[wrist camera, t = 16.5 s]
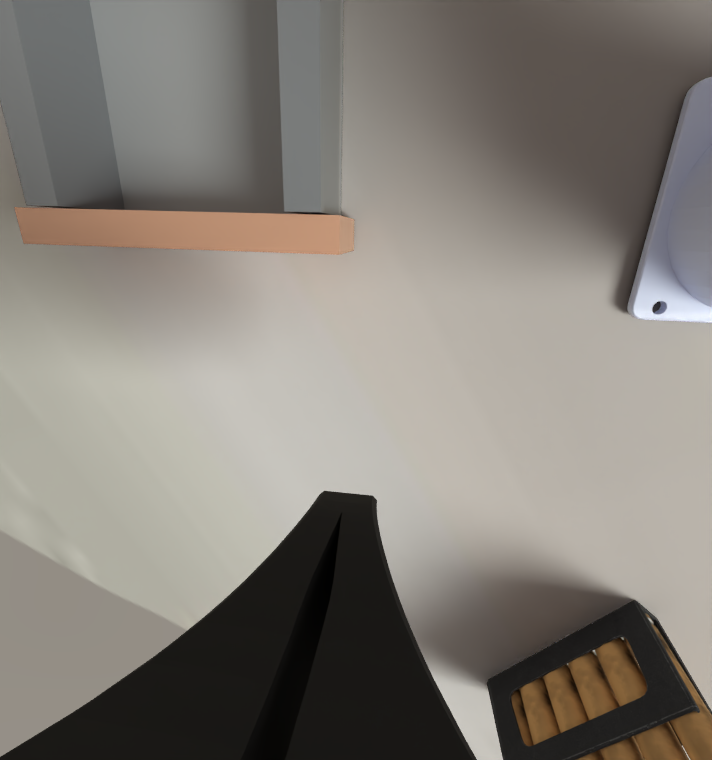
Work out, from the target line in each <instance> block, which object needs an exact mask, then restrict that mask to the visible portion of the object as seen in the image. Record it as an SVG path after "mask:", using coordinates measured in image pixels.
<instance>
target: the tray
mask: <svg viewBox="0 0 712 760" xmlns="http://www.w3.org/2000/svg"><path fill="white" fill-rule="evenodd" d="M343 13H344V0H0V102H1V106H2V110H3V114H4V118H5V122H6V126H7V130H8V134H9V138H10V142H11V146H12V150H13V154H14V158H15V162H16V166H17V170H18V174H19V178H20V182H21V185H22V189H23V193H24V197H25V201H26V205H28V206H41V207H53V208H66V209H104V210H146V211H187V212H229V213H271V214H312V215H341V174H342V94H343Z"/></svg>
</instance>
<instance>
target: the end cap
mask: <svg viewBox="0 0 712 760" xmlns="http://www.w3.org/2000/svg"><path fill="white" fill-rule="evenodd" d="M14 208H15V212H16V216H17V220H18V223H19V227H20V231H21V235H22V239H23V242H24V244H52V245H80V246H109V247H137V248H166V249H195V250H223V251H252V252H280V253H309V254H337V255H340V254H343V253H347V252H350V251H354V219H351V218H348V217H344V216H341V215H312V214H271V213H229V212H187V211H146V210H104V209H62V208H21V207H14Z"/></svg>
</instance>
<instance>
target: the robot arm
mask: <svg viewBox="0 0 712 760" xmlns="http://www.w3.org/2000/svg"><path fill="white" fill-rule="evenodd" d="M658 301H660V303H661V307H660V309H659V310H658V311H656V312H653V311H652V307H653V305H654V304H655V303H656V302H658ZM627 310H628V313H629V314H630V315H631V316H632V317H634V318H638V319H642V320H662V321H682V322H703V323H712V77H708V78H705V79H703V80H701V81H699V82H698V83H696V84H694V85H693V86H692V87H691V88H690V89H689V91H688V92H687V94H686V97H685V99H684V103H683V107H682V110H681V114H680V117H679V121H678V125H677V128H676V132H675V136H674V139H673V143H672V146H671V150H670V154H669V157H668V161H667V165H666V168H665V172H664V175H663V179H662V183H661V186H660V190H659V193H658V197H657V201H656V204H655V208H654V212H653V215H652V219H651V222H650V226H649V230H648V233H647V237H646V241H645V244H644V248H643V251H642V255H641V259H640V262H639V266H638V270H637V273H636V277H635V280H634V284H633V288H632V291H631V295H630V298H629V302H628V308H627ZM376 507H377V500H376V499H375V498H374V497H373V496H369V495H360V494H350V493H340V492H330V491H324V492H322V493H321V494H320V495H319V496H318V498H317V499H316V501H315V502H314V503H313V505H312V506H311V507H310V509H309V510H308V511H307V512H306V514H305V515H304V516H303V517H302V519H301V520H300V521H299V522H298V524H297V525H296V526H295V527H294V528H293V530H292V531H291V532H290V533H289V534H288V535H287V536H286V538H285V539H284V540H283V541H282V542H281V543H280V544H279V546H278V547H277V548H276V549H275V550H274V551H273V552H272V553H271V554H270V555H269V556H268V557H267V558H266V559H265V561H264V562H263V563H262V564H261V565H260V566H259V567H258V568H257V569H256V570H255V571H254V572H253V573H252V574H251V575H250V576H249V577H248V578H247V579H246V580H245V581H244V582H243V583H242V584H241V585H240V586H239V587H237V588H236V589H235V590H234V591H233V592H232V593H231V594H230V595H229V596H228V597H227V598H226V599H224V600H223V601H222V602H221V603H220V604H219V605H218V606H216V607H215V608H214V609H213V610H212V611H211V612H210V613H208V614H207V615H206V616H205V617H204V618H202V619H201V620H200V621H199V622H197V623H196V624H195V625H194V626H192V627H191V628H190V629H189V630H188V631H186V632H185V633H184V634H183V635H181V636H180V637H179V638H178V639H176V640H175V641H174V642H173V643H171V644H170V645H169V646H168V647H166V648H165V649H164V650H162V651H161V652H159V653H158V654H157V655H156V656H154V657H153V658H151V659H150V660H149V661H147V662H146V663H144V664H143V665H141V666H140V667H139V668H137V669H136V670H134V671H133V672H132V673H130V674H129V675H127V676H126V677H124V678H123V679H121V680H120V681H119V682H117V683H116V684H114V685H113V686H111V687H110V688H109V689H107V690H106V691H104V692H103V693H101V694H100V695H99V696H97V697H96V698H94V699H93V700H91V701H90V702H88V703H87V704H85V705H84V706H82V707H81V708H79V709H77V710H76V711H74V712H73V713H71V714H70V715H68V716H66V717H65V718H63V719H62V720H60V721H58V722H57V723H55V724H53V725H52V726H50V727H48V728H47V729H45V730H44V731H42V732H40V733H39V734H37V735H35V736H34V737H32V738H31V739H29V740H27V741H26V742H24V743H22V744H21V745H19V746H18V747H16V748H14V749H13V750H11V751H9V752H8V753H6V754H5V755H3V756H1V757H0V760H477V759H476V757H475V756H474V754H473V752H472V750H471V749H470V747H469V745H468V743H467V742H466V740H465V738H464V736H463V734H462V732H461V730H460V728H459V727H458V725H457V723H456V721H455V719H454V717H453V715H452V713H451V711H450V709H449V707H448V706H447V704H446V702H445V700H444V698H443V696H442V694H441V692H440V690H439V688H438V686H437V685H436V683H435V681H434V679H433V677H432V675H431V672H430V670H429V668H428V666H427V664H426V662H425V660H424V657H423V655H422V653H421V651H420V649H419V647H418V644H417V642H416V640H415V637H414V635H413V633H412V630H411V628H410V626H409V623H408V621H407V618H406V616H405V613H404V610H403V608H402V605H401V603H400V600H399V597H398V594H397V591H396V589H395V586H394V583H393V580H392V577H391V574H390V570H389V567H388V563H387V560H386V556H385V553H384V549H383V545H382V541H381V537H380V532H379V526H378V520H377V508H376Z"/></svg>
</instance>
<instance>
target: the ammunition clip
mask: <svg viewBox="0 0 712 760" xmlns="http://www.w3.org/2000/svg"><path fill="white" fill-rule="evenodd" d="M637 662H638V663H637ZM638 664H639V665H638ZM639 666H640V667H639ZM487 686H488V691H489V695H490V700H491V705H492V709H493V714H494V719H495V723H496V728H497V733H498V737H499V742H500V747H501V752H502V756H503V760H689V759H688V757H687V755H686V753H685V751H684V750H683V748H682V745H683V747H684V748H685V750H686V752H687V754H688V756H689V758H690V759H691V760H712V711H711V709H710V708H709V706H708V704H707V703H706V701H705V699H704V697H703V696H702V694H701V692H700V691H699V689H698V687H697V686H696V684H695V682H694V680H693V679H692V677H691V675H690V674H689V672H688V670H687V669H686V667H685V665H684V663H683V662H682V660H681V658H680V657H679V655H678V653H677V652H676V650H675V648H674V646H673V645H672V643H671V641H670V640H669V638H668V636H667V635H666V633H665V631H664V629H663V628H662V626H661V624H660V623H659V621H658V619H657V618H656V617H655V616H653V615H652V614H651V613H650V612H649V611H648V610H646V609H645V608H644V607H643V606H642V605H641V604H640V603H638V602H636V601H632V602H630V603H628V604H627V605H625V606H623V607H621V608H619V609H617V610H616V611H614V612H612V613H610V614H608V615H606V616H605V617H603V618H601V619H599V620H597V621H595V622H594V623H592V624H590V625H588V626H586V627H584V628H583V629H581V630H579V631H577V632H575V633H573V634H571V635H570V636H568V637H566V638H564V639H562V640H560V641H559V642H557V643H555V644H553V645H551V646H549V647H548V648H546V649H544V650H542V651H540V652H538V653H537V654H535V655H533V656H531V657H529V658H527V659H526V660H524V661H522V662H520V663H518V664H516V665H515V666H513V667H511V668H509V669H507V670H505V671H504V672H502V673H500V674H498V675H496V676H494V677H493V678H491V679H489V680H488V682H487Z"/></svg>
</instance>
